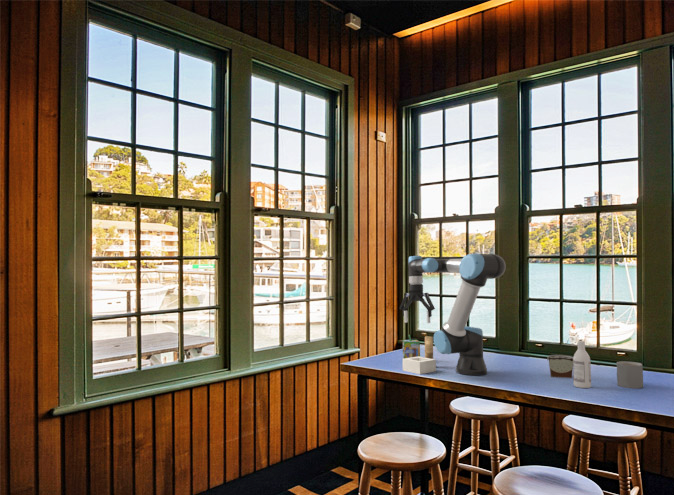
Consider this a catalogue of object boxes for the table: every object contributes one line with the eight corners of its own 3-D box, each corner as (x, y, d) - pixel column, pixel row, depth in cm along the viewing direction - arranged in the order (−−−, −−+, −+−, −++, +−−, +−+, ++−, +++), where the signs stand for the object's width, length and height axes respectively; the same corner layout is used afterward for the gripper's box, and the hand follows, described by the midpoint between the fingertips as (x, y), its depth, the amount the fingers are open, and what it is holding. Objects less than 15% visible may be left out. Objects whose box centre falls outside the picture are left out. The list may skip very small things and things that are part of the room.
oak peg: (435, 367, 259) (434, 337, 260) (429, 368, 257) (429, 337, 257) (428, 365, 263) (428, 336, 264) (423, 366, 260) (422, 336, 261)
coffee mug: (640, 389, 209) (639, 366, 209) (614, 386, 215) (614, 363, 216) (647, 384, 219) (646, 362, 219) (622, 381, 225) (621, 359, 226)
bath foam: (585, 384, 218) (583, 340, 219) (594, 388, 211) (593, 342, 212) (570, 385, 218) (569, 340, 219) (579, 388, 211) (578, 342, 212)
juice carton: (420, 362, 274) (420, 335, 274) (404, 362, 274) (404, 335, 275) (418, 359, 283) (417, 333, 284) (402, 359, 283) (402, 333, 284)
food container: (572, 375, 237) (572, 355, 238) (575, 378, 231) (574, 357, 232) (545, 374, 240) (545, 354, 241) (547, 376, 235) (547, 356, 235)
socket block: (435, 371, 248) (435, 359, 248) (419, 374, 241) (419, 362, 241) (418, 367, 258) (418, 356, 258) (402, 370, 250) (402, 358, 251)
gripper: (439, 283, 262) (441, 322, 260) (399, 284, 277) (400, 321, 275) (434, 283, 256) (435, 323, 254) (392, 284, 270) (393, 322, 269)
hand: (417, 322), depth 264 cm, fingers open, 13 cm apart
